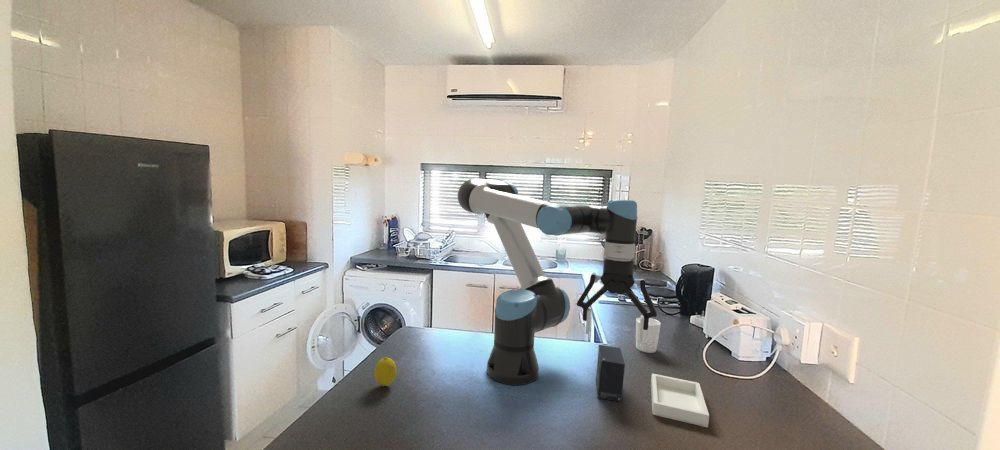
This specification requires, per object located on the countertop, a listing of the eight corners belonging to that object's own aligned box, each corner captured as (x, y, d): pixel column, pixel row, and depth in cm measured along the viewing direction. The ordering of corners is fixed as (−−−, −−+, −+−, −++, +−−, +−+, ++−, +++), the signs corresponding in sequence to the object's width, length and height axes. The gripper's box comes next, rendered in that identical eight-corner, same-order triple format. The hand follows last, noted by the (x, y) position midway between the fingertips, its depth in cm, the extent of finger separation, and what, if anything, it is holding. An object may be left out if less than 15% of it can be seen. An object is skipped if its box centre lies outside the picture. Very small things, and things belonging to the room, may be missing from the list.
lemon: (370, 386, 98) (370, 356, 97) (389, 378, 102) (389, 350, 101) (381, 394, 94) (381, 364, 93) (400, 386, 98) (400, 357, 97)
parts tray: (652, 414, 91) (653, 402, 90) (650, 383, 105) (651, 373, 105) (707, 427, 86) (709, 415, 86) (698, 393, 101) (699, 382, 101)
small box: (623, 402, 95) (626, 363, 94) (597, 399, 96) (599, 360, 95) (618, 382, 105) (621, 346, 104) (595, 378, 107) (597, 344, 106)
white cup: (661, 354, 125) (664, 325, 124) (638, 353, 125) (641, 324, 124) (652, 344, 133) (655, 317, 132) (630, 343, 133) (633, 316, 132)
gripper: (568, 255, 98) (564, 333, 100) (672, 265, 89) (665, 350, 91) (573, 252, 105) (569, 324, 107) (669, 260, 96) (663, 339, 98)
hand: (613, 336), depth 99 cm, fingers open, 13 cm apart
